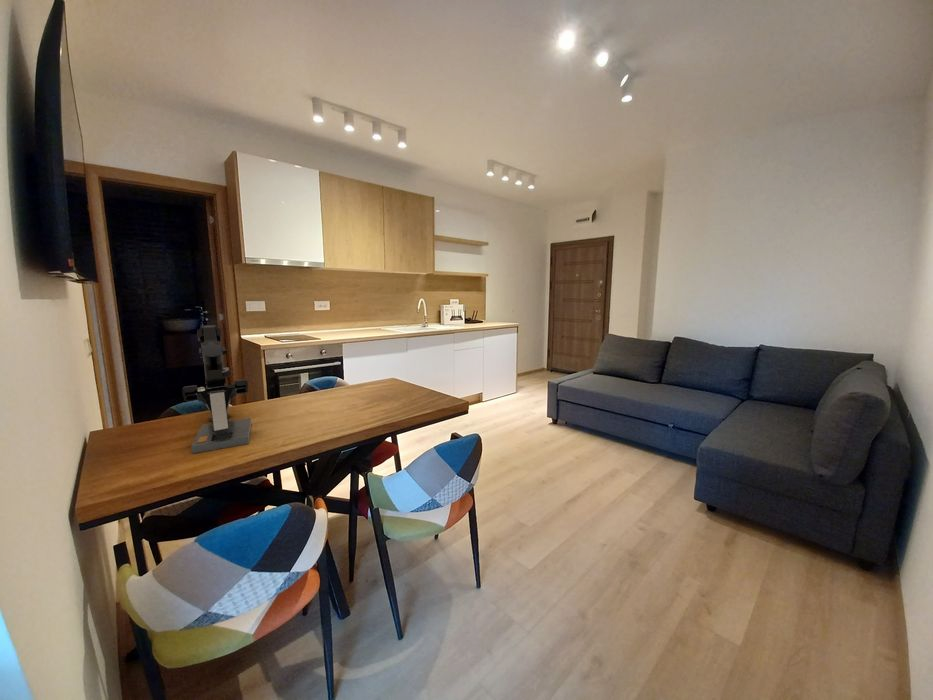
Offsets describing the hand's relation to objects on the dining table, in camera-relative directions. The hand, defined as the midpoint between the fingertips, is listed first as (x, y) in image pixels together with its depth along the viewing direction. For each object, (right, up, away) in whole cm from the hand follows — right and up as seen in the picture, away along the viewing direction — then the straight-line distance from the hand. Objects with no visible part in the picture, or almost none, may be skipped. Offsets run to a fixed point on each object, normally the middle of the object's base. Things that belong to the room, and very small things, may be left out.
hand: (219, 410), depth 123 cm
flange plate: (-4, -11, +8) cm, 14 cm away
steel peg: (-1, -6, +2) cm, 7 cm away
